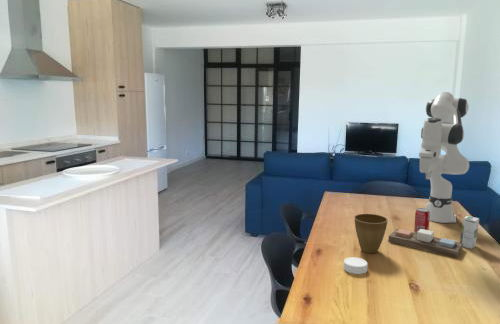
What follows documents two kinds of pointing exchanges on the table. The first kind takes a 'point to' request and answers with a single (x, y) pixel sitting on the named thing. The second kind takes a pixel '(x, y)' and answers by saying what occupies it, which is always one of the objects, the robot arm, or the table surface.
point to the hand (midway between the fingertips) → (428, 178)
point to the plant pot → (370, 231)
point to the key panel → (426, 244)
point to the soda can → (421, 219)
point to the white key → (425, 235)
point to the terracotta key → (404, 233)
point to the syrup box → (469, 231)
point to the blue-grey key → (447, 243)
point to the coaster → (355, 265)
